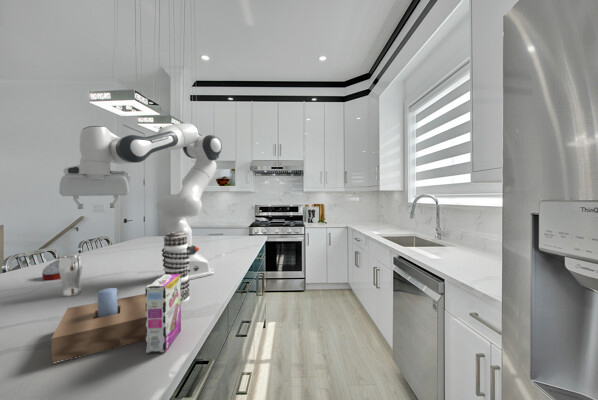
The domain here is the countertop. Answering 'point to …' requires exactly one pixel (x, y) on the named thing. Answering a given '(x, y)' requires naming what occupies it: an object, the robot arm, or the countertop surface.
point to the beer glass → (70, 274)
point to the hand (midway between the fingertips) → (96, 208)
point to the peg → (107, 302)
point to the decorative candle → (177, 259)
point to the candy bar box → (163, 312)
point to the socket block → (99, 328)
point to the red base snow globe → (51, 272)
